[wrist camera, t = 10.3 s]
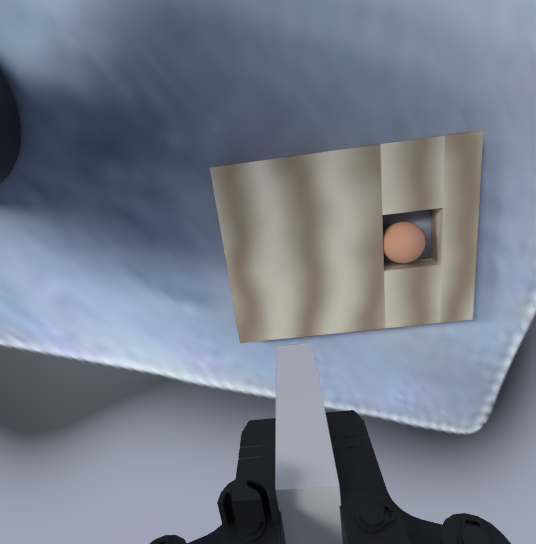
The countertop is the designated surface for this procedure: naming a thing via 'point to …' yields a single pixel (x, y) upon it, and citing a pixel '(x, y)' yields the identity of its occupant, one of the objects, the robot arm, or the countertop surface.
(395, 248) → the ball
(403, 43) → the countertop surface
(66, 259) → the countertop surface
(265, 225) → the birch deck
